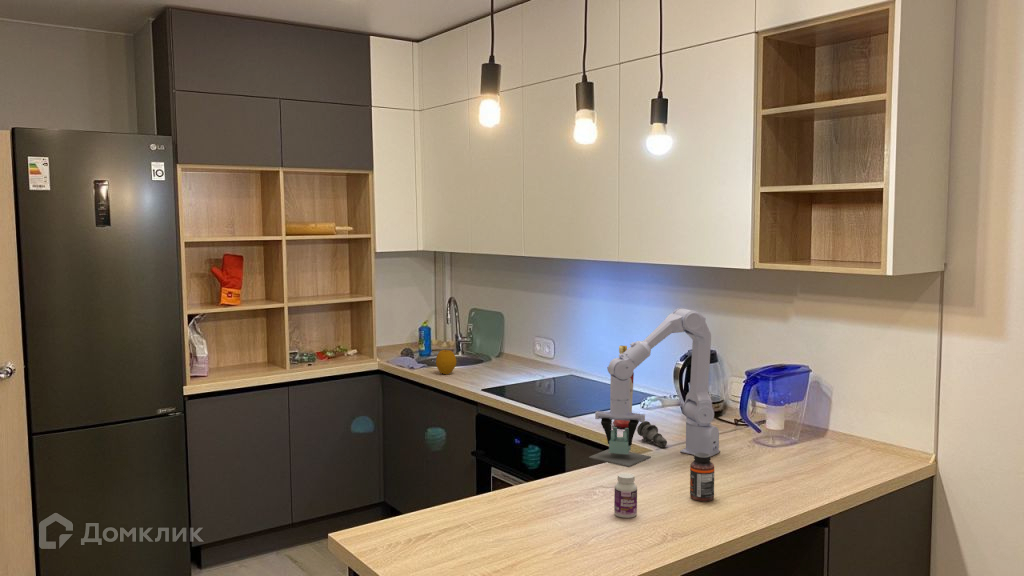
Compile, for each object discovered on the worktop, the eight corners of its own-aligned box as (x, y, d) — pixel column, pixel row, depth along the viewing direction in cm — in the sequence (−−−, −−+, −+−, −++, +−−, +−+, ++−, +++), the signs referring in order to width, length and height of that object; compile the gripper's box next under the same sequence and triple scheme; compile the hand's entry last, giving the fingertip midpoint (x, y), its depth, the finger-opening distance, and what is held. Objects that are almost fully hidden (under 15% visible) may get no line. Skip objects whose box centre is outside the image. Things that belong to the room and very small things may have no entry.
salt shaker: (643, 439, 255) (666, 457, 245) (633, 431, 252) (655, 448, 242) (654, 425, 255) (677, 442, 245) (644, 417, 252) (666, 433, 242)
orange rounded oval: (461, 373, 369) (460, 349, 368) (445, 376, 362) (445, 351, 361) (447, 371, 376) (446, 347, 375) (431, 374, 369) (431, 349, 368)
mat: (650, 457, 234) (650, 456, 234) (629, 467, 225) (629, 465, 225) (611, 449, 243) (611, 447, 243) (588, 458, 234) (588, 456, 234)
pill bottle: (621, 520, 185) (622, 480, 184) (610, 512, 190) (610, 473, 189) (641, 516, 187) (641, 476, 186) (629, 509, 192) (629, 470, 191)
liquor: (618, 430, 265) (618, 348, 263) (608, 425, 272) (608, 345, 270) (637, 428, 268) (637, 347, 266) (627, 423, 275) (627, 344, 272)
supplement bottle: (687, 494, 202) (688, 451, 202) (711, 494, 202) (711, 451, 201) (692, 502, 197) (692, 457, 196) (716, 502, 196) (717, 457, 195)
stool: (630, 449, 236) (630, 427, 236) (627, 454, 231) (627, 432, 230) (612, 447, 238) (612, 426, 237) (609, 452, 233) (609, 431, 232)
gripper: (646, 397, 234) (646, 442, 236) (598, 394, 239) (598, 438, 240) (643, 402, 228) (642, 448, 229) (593, 399, 232) (593, 444, 233)
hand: (619, 444), depth 234 cm, fingers closed on stool, 5 cm apart
